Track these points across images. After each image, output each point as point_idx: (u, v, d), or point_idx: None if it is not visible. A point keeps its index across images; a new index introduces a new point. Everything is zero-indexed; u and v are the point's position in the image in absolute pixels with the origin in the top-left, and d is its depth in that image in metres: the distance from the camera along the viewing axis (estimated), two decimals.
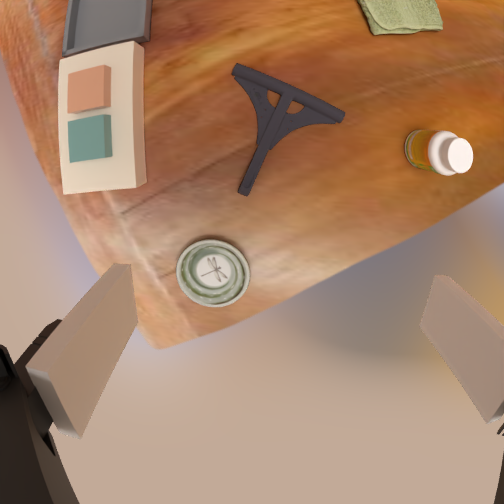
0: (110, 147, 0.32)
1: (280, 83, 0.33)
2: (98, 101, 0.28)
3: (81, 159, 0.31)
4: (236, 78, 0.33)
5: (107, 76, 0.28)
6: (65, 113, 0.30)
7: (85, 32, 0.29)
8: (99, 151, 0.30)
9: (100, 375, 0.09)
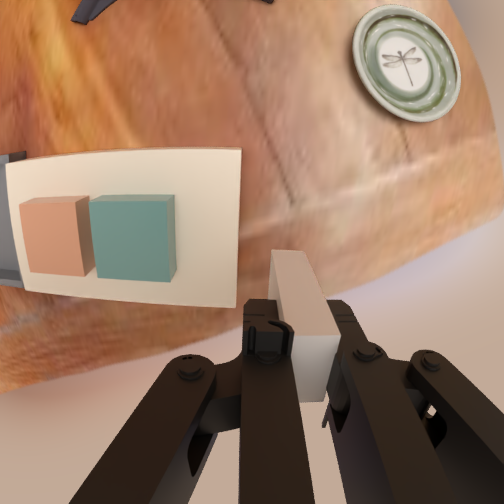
0: (155, 195, 0.18)
1: None
2: (68, 212, 0.17)
3: (165, 255, 0.18)
4: (91, 16, 0.17)
5: (40, 200, 0.17)
6: (95, 284, 0.21)
7: (9, 253, 0.23)
8: (153, 213, 0.17)
9: None
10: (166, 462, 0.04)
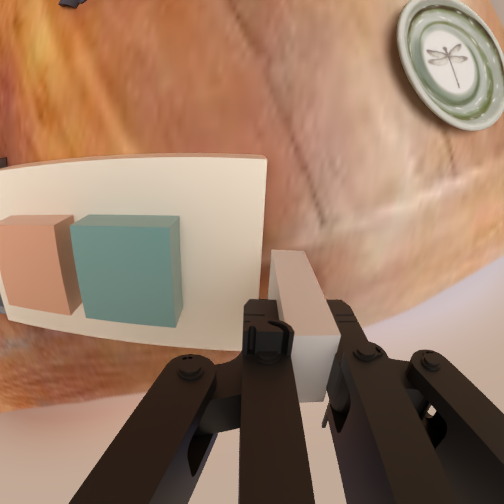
0: (154, 217, 0.14)
1: None
2: (46, 238, 0.13)
3: (168, 296, 0.14)
4: None
5: (15, 219, 0.13)
6: (86, 320, 0.17)
7: None
8: (152, 243, 0.13)
9: None
10: (166, 462, 0.04)
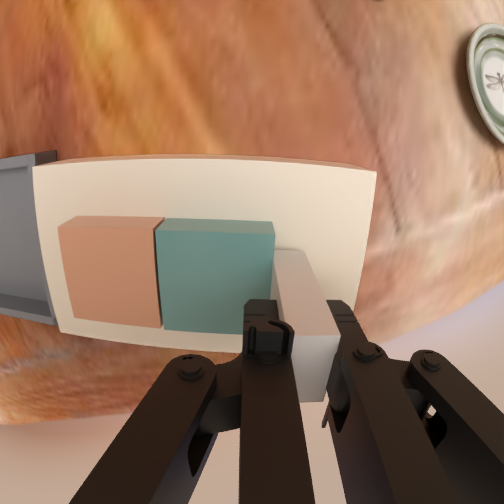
0: (247, 222, 0.14)
1: None
2: (140, 243, 0.13)
3: None
4: None
5: (89, 221, 0.14)
6: (165, 331, 0.17)
7: (32, 280, 0.20)
8: (254, 250, 0.13)
9: None
10: (167, 462, 0.04)
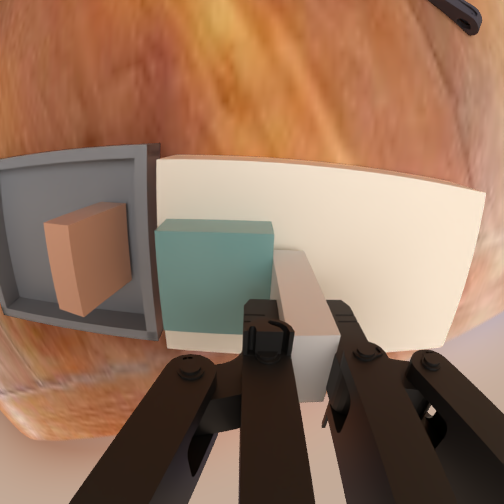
0: (246, 222, 0.14)
1: None
2: None
3: None
4: None
5: (99, 207, 0.16)
6: None
7: None
8: (253, 250, 0.13)
9: None
10: (166, 462, 0.04)
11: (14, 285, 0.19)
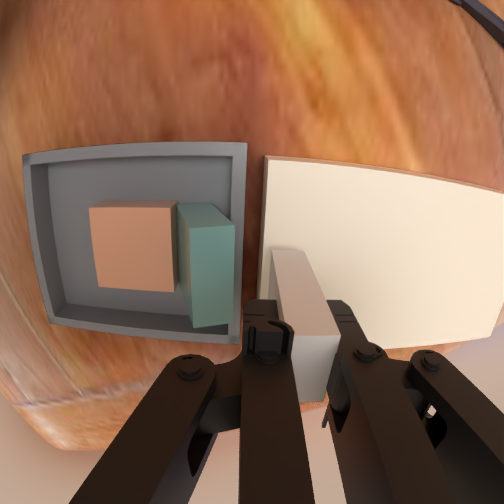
0: (220, 219, 0.14)
1: None
2: None
3: (190, 294, 0.14)
4: None
5: (152, 203, 0.17)
6: (383, 333, 0.17)
7: None
8: (186, 238, 0.14)
9: None
10: (166, 462, 0.04)
11: (61, 290, 0.20)
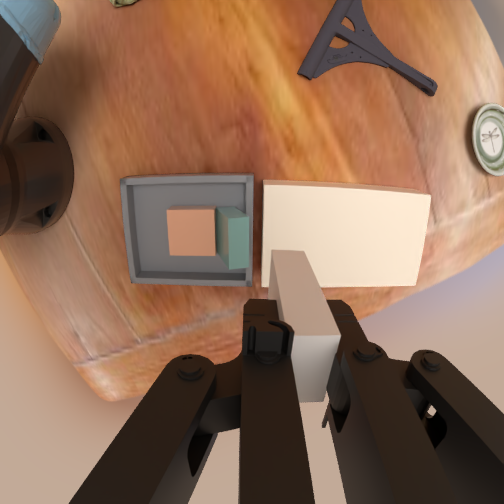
0: (241, 214, 0.30)
1: (324, 32, 0.26)
2: None
3: (228, 251, 0.29)
4: (316, 75, 0.28)
5: (202, 207, 0.32)
6: (334, 277, 0.32)
7: (220, 258, 0.35)
8: (225, 224, 0.29)
9: None
10: (166, 462, 0.04)
11: (139, 262, 0.35)
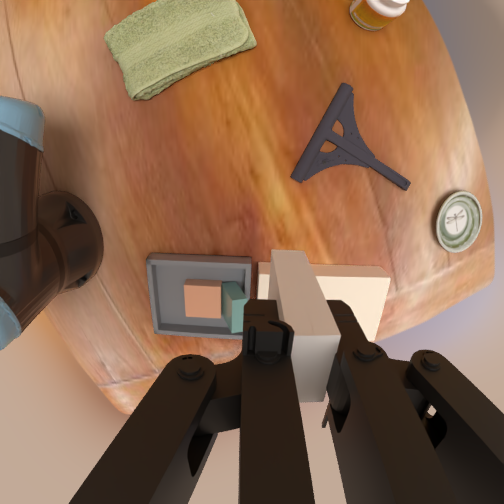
0: (241, 294, 0.40)
1: (316, 139, 0.36)
2: None
3: (231, 321, 0.40)
4: (306, 178, 0.39)
5: (211, 283, 0.42)
6: None
7: None
8: (230, 302, 0.39)
9: None
10: (166, 462, 0.04)
11: (160, 317, 0.45)
